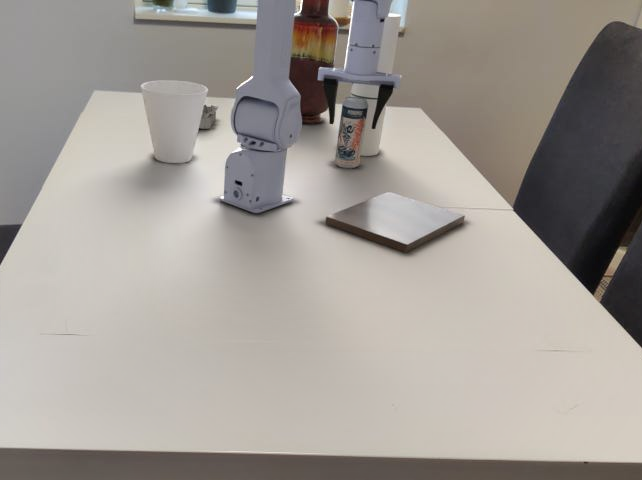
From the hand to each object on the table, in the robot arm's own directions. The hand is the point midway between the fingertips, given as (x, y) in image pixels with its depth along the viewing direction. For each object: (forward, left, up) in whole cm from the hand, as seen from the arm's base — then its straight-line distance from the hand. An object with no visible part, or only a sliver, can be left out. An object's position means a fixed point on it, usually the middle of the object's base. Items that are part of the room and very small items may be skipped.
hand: (352, 125), depth 130 cm
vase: (+22, +27, -8) cm, 36 cm away
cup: (-23, +23, -8) cm, 33 cm away
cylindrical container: (+11, +4, -8) cm, 14 cm away
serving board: (-19, -22, -7) cm, 30 cm away
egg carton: (-1, +38, -8) cm, 39 cm away
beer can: (0, 0, -8) cm, 8 cm away
